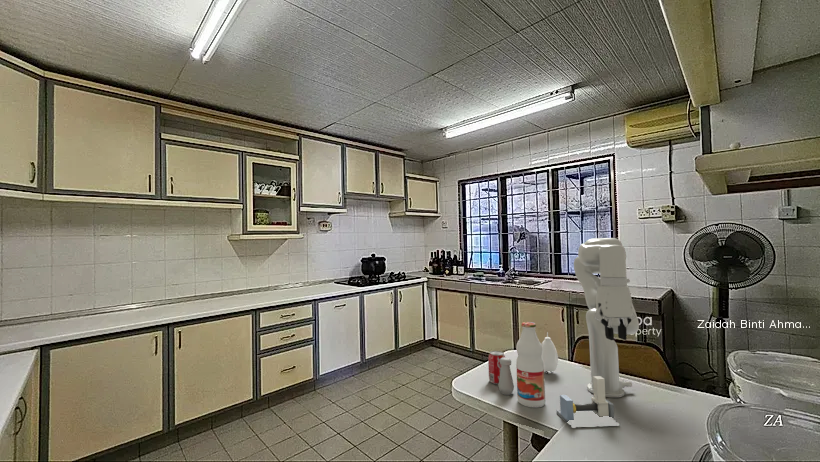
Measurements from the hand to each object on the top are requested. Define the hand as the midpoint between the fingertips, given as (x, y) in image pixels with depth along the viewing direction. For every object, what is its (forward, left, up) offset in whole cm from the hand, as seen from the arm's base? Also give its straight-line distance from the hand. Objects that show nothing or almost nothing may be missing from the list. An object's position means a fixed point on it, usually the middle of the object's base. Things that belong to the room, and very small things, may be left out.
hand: (616, 338), depth 114 cm
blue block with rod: (+11, 0, -25) cm, 28 cm away
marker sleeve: (+7, 0, -24) cm, 24 cm away
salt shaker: (+29, -23, -25) cm, 45 cm away
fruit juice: (+23, -14, -25) cm, 37 cm away
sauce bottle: (+3, -43, -25) cm, 50 cm away
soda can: (+29, -34, -25) cm, 52 cm away
